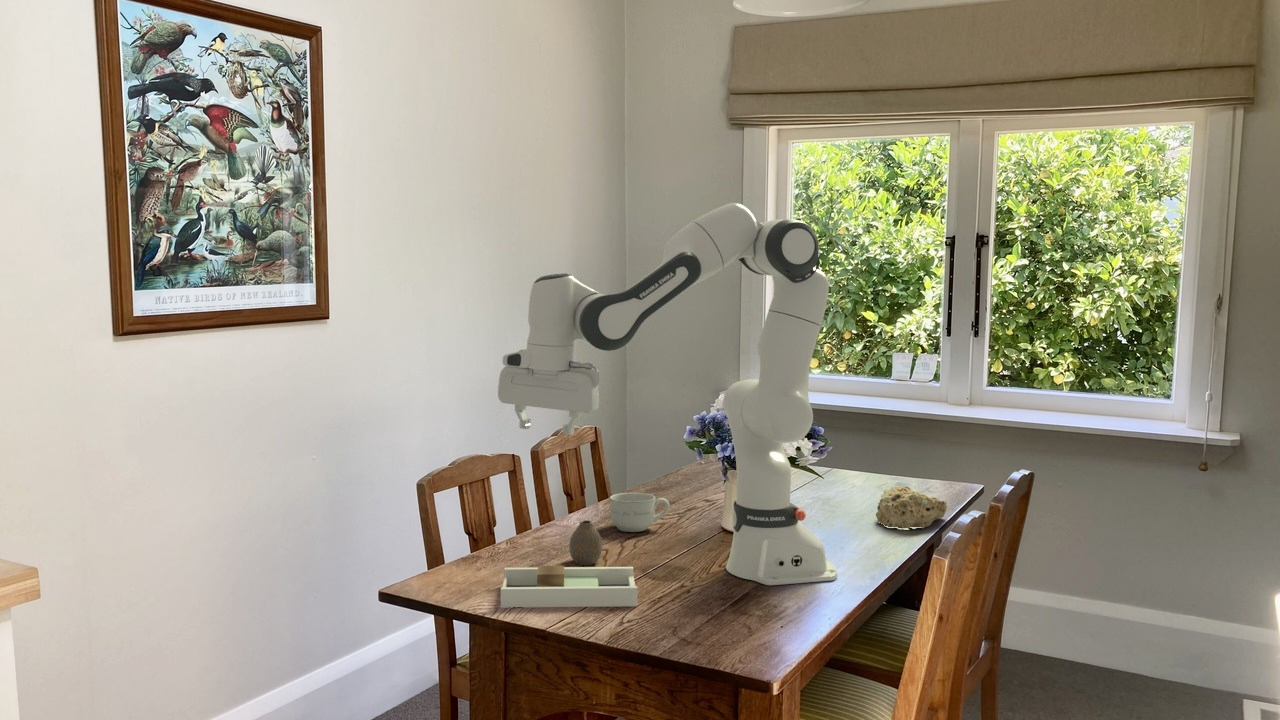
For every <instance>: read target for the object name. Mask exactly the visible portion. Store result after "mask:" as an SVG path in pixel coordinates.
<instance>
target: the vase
mask: <svg viewBox="0 0 1280 720" xmlns="http://www.w3.org/2000/svg"><path fill="white" fill-rule="evenodd" d="M568 547H569V548H568V549H569V554H570V556H571V559H572V561H573V562H575V563H576V564H577V565H578V566H592V565H595V564H596V563H597V562H598V560H600V558H601V555H602V552H603V540H602V536H601V534H600V533H599V531H598V530H597V529H596V527H595V526H594V524H593V522H592V521H591V520H581V521H580V522H579V524H578V526H577V527H576V529H575V530H574V531H573V532H572V534H571V537H570V539H569V545H568Z"/></svg>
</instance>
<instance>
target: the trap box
mask: <svg viewBox="0 0 1280 720" xmlns="http://www.w3.org/2000/svg"><path fill="white" fill-rule="evenodd" d="M537 571H538V567H504V577H503V582H502V587H500V608H501V609H505V608H506V609H508V608H509V607H510V608H511V609H512V608H513V607H516V608H515V609H518V608H517V607H523V608H590V607H592V608H597V607H598V608H601V607H603V608H604V607H606V608H607V607H608V608H609V607H612V608H613V607H614V608H615V607H638V595H639V594H638V590H639V589H638V588H639V587H638V585H636V583H635V582H636V581H635V577H634V566H584V567H583V566H569V567H568V566H567V567H565V566H564V587H537ZM510 608H509V609H510Z"/></svg>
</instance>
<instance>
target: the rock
mask: <svg viewBox="0 0 1280 720" xmlns="http://www.w3.org/2000/svg"><path fill="white" fill-rule="evenodd" d="M880 496H881V497H880V499H879V502H878V505H877V512H875V517H876V519H877V522H878V523H879V522H880V523H882V524H884V525H885V526H888V527H898V528H908V529H909V528H910V527H925V528H926V527H927V528H928V527H929V526H931V524H932V523H933V522H934V521H936V520H939V519H943V518H944V517H945V515H946V511H947V508H948V505H947V501H946V500H940V499H939V498H937V497H932V496H931V497H930V496H928V495H926V494H923V493H920V492H919V491H913V490H911V488H910V487H909V486H901V485H898V486H892V487H891V488H890V489H888V488H887V489H886V488H885V490H883V494H881V495H880ZM942 517H943V518H942ZM882 524H881V525H882ZM909 530H910V529H909Z"/></svg>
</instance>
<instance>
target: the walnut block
mask: <svg viewBox="0 0 1280 720" xmlns="http://www.w3.org/2000/svg"><path fill="white" fill-rule="evenodd" d="M564 567H565V565H537V568H538V571H537V587H564Z"/></svg>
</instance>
